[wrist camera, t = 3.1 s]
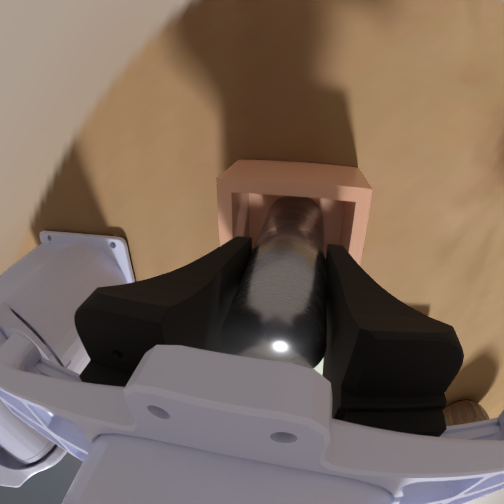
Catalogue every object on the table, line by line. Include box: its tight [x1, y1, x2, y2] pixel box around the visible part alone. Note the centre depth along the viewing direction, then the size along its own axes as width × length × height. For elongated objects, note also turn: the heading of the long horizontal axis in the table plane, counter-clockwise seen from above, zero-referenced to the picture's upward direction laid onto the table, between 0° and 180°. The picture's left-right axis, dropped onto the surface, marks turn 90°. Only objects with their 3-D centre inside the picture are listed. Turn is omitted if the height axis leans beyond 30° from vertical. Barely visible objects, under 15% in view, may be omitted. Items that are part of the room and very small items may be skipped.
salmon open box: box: [217, 159, 372, 266], centre depth 15 cm, size 6×6×4 cm
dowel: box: [220, 196, 327, 369], centre depth 12 cm, size 3×3×9 cm
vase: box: [443, 400, 489, 426], centre depth 18 cm, size 7×7×9 cm
